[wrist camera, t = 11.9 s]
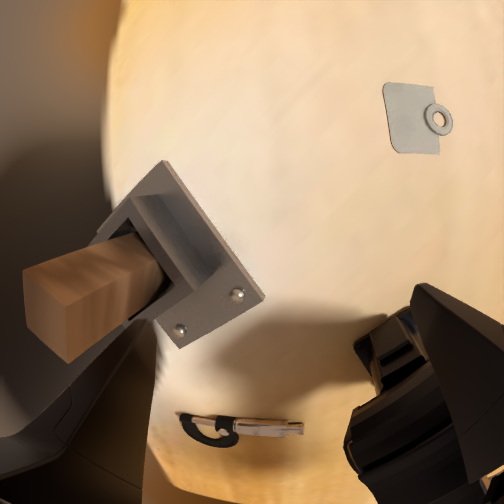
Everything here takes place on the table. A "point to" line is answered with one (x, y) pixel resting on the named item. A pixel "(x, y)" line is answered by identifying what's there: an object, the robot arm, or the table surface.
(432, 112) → the mounting bracket
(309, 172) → the table surface
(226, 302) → the cup bracket
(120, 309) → the rail post
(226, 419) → the micrometer
